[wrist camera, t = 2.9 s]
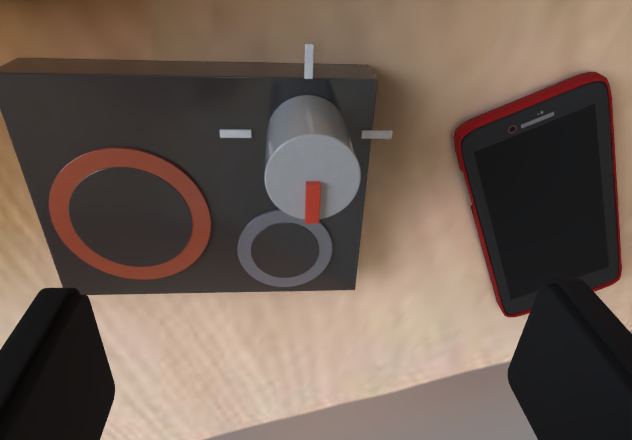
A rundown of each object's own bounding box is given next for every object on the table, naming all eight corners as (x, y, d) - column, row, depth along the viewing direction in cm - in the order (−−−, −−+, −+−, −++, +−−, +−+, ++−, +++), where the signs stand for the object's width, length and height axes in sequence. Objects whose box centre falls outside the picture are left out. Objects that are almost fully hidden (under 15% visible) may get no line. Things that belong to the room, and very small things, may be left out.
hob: (390, 33, 21) (403, 46, 19) (363, 262, 28) (371, 291, 26) (6, 24, 20) (-29, 36, 17) (81, 267, 27) (64, 297, 25)
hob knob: (266, 94, 20) (262, 137, 15) (349, 95, 20) (366, 137, 16) (268, 169, 21) (265, 225, 17) (343, 169, 22) (358, 224, 18)
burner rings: (338, 147, 21) (339, 150, 21) (329, 284, 26) (329, 286, 25) (29, 146, 20) (26, 148, 20) (76, 288, 25) (74, 291, 24)
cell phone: (498, 312, 31) (504, 322, 30) (446, 126, 23) (452, 133, 23) (614, 272, 30) (623, 282, 29) (599, 63, 22) (611, 68, 21)
